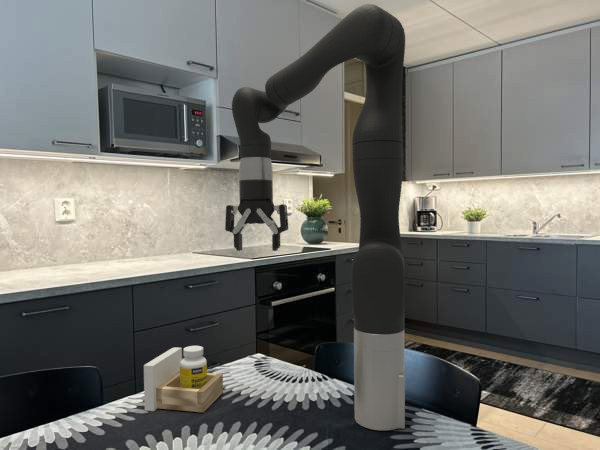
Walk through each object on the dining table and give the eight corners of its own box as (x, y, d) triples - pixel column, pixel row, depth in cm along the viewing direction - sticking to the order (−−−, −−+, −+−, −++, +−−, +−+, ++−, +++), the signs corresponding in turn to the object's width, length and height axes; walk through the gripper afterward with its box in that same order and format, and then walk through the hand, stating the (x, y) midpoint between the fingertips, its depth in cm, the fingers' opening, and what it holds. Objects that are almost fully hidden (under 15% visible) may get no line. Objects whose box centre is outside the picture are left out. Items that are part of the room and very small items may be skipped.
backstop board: (182, 387, 102) (181, 347, 101) (153, 411, 90) (152, 366, 90) (174, 387, 102) (173, 347, 102) (144, 410, 90) (143, 365, 90)
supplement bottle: (191, 402, 91) (191, 354, 90) (174, 396, 94) (173, 349, 94) (212, 394, 95) (211, 347, 95) (195, 388, 98) (194, 342, 98)
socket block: (223, 392, 98) (222, 373, 98) (203, 412, 89) (203, 392, 89) (180, 388, 101) (180, 370, 101) (156, 408, 91) (156, 388, 91)
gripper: (290, 179, 106) (291, 249, 106) (232, 180, 109) (233, 248, 109) (282, 177, 98) (283, 252, 99) (220, 178, 101) (221, 251, 102)
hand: (257, 250), depth 104 cm, fingers open, 8 cm apart
